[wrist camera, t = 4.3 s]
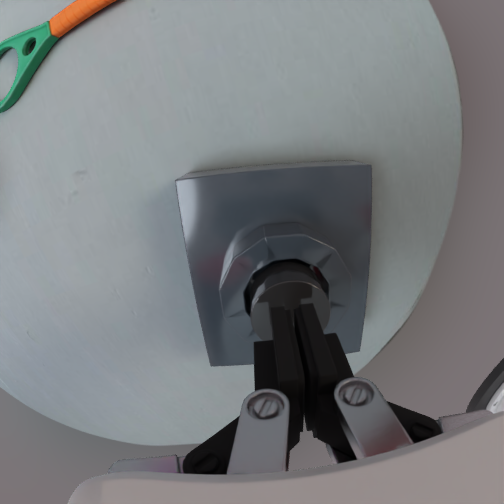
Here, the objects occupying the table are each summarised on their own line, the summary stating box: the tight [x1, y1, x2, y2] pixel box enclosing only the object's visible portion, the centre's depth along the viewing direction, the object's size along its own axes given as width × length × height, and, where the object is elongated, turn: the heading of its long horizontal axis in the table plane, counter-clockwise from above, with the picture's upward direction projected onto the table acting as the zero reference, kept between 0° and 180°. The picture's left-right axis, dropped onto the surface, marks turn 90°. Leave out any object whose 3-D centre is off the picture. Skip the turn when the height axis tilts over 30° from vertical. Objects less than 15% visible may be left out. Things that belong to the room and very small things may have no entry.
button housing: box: [175, 160, 372, 366], centre depth 17 cm, size 10×12×5 cm
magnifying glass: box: [0, 0, 116, 113], centre depth 12 cm, size 15×6×2 cm, turn 110°
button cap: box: [250, 262, 331, 341], centre depth 14 cm, size 4×4×2 cm
